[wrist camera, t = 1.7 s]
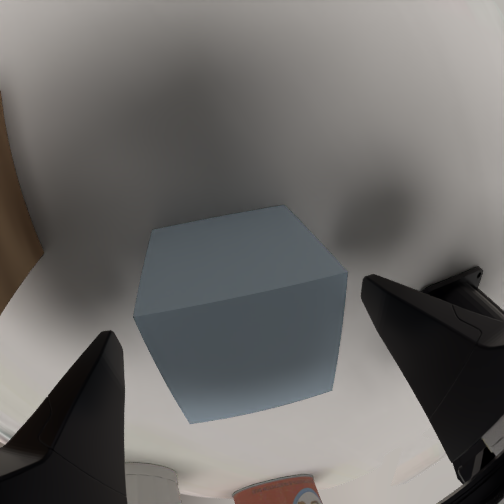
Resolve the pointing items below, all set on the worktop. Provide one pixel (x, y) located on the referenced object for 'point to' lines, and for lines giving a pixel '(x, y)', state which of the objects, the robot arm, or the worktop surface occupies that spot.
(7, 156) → the walnut block
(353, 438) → the worktop surface
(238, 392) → the cube
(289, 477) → the canned food
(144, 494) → the cup
